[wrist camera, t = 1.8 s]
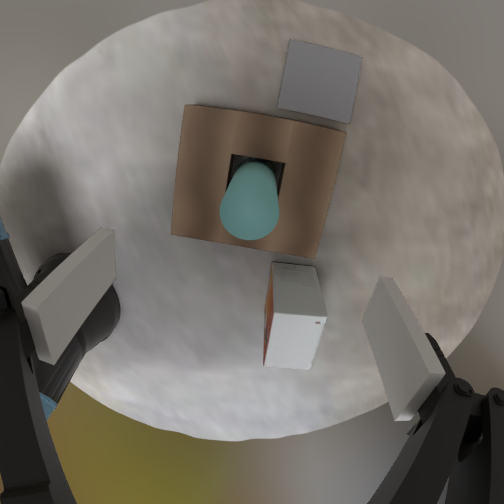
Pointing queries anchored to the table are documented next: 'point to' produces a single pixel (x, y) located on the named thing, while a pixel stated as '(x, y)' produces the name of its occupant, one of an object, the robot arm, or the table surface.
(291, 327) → the small box
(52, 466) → the robot arm
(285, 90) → the mat
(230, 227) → the plug
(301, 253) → the wooden block with hole
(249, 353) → the table surface
